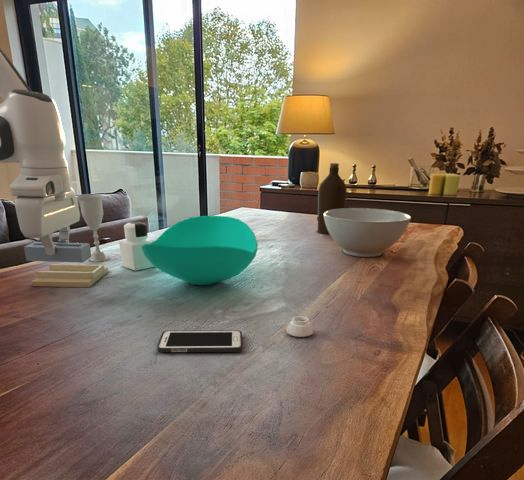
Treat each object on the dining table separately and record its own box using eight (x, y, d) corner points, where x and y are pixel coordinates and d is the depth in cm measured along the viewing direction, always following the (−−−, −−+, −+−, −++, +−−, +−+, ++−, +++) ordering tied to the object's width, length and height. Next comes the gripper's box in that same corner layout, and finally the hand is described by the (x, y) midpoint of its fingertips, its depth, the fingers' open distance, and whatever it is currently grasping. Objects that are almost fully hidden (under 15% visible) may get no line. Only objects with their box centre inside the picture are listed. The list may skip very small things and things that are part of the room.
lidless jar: (317, 332, 87) (296, 326, 90) (318, 318, 86) (297, 312, 89) (302, 340, 84) (281, 333, 87) (303, 326, 83) (281, 319, 86)
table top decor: (171, 260, 136) (168, 214, 131) (263, 263, 134) (264, 217, 128) (122, 304, 100) (115, 244, 95) (247, 310, 98) (247, 248, 93)
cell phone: (242, 352, 79) (242, 347, 78) (156, 353, 78) (155, 348, 78) (241, 334, 86) (241, 330, 85) (163, 335, 85) (162, 330, 85)
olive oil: (348, 231, 180) (354, 163, 169) (334, 235, 172) (339, 164, 162) (324, 228, 186) (329, 162, 175) (310, 232, 178) (314, 163, 168)
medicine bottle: (143, 261, 134) (139, 219, 129) (157, 266, 129) (153, 223, 124) (121, 266, 129) (116, 222, 124) (134, 271, 125) (130, 226, 120)
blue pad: (26, 260, 96) (23, 246, 95) (37, 255, 101) (34, 240, 100) (82, 262, 96) (80, 247, 95) (91, 256, 101) (89, 242, 99)
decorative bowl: (376, 241, 164) (380, 206, 158) (422, 259, 141) (429, 219, 136) (308, 246, 156) (310, 209, 151) (344, 265, 133) (348, 223, 128)
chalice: (106, 262, 132) (97, 197, 125) (83, 262, 133) (72, 197, 125) (114, 256, 139) (106, 194, 131) (91, 256, 139) (82, 194, 131)
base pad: (32, 286, 112) (30, 275, 110) (56, 270, 124) (55, 260, 123) (90, 287, 111) (88, 276, 110) (109, 271, 124) (107, 261, 123)
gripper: (53, 177, 101) (63, 240, 107) (4, 187, 83) (19, 262, 89) (82, 178, 101) (90, 241, 107) (38, 188, 83) (52, 263, 89)
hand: (58, 250), depth 98 cm, fingers closed on blue pad, 5 cm apart
